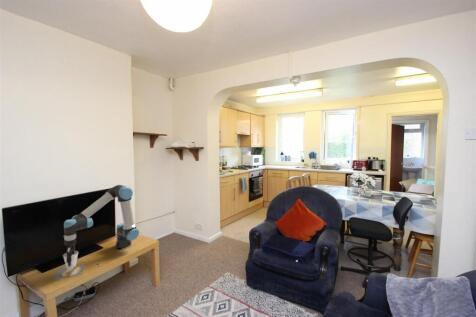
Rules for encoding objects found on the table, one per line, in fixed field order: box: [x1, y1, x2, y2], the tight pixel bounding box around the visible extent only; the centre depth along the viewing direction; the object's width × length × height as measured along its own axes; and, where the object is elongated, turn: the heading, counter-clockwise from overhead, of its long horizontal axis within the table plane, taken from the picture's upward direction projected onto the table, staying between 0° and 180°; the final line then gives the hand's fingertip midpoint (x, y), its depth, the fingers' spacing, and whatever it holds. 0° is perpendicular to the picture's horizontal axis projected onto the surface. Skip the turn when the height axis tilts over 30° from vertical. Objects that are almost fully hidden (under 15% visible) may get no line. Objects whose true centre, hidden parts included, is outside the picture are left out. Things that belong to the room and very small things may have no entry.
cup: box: [62, 250, 79, 269], centre depth 180 cm, size 10×10×11 cm
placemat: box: [53, 264, 86, 281], centre depth 181 cm, size 18×16×1 cm
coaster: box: [61, 267, 81, 278], centre depth 180 cm, size 13×13×1 cm
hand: (71, 266), depth 180 cm, fingers closed on cup, 8 cm apart
